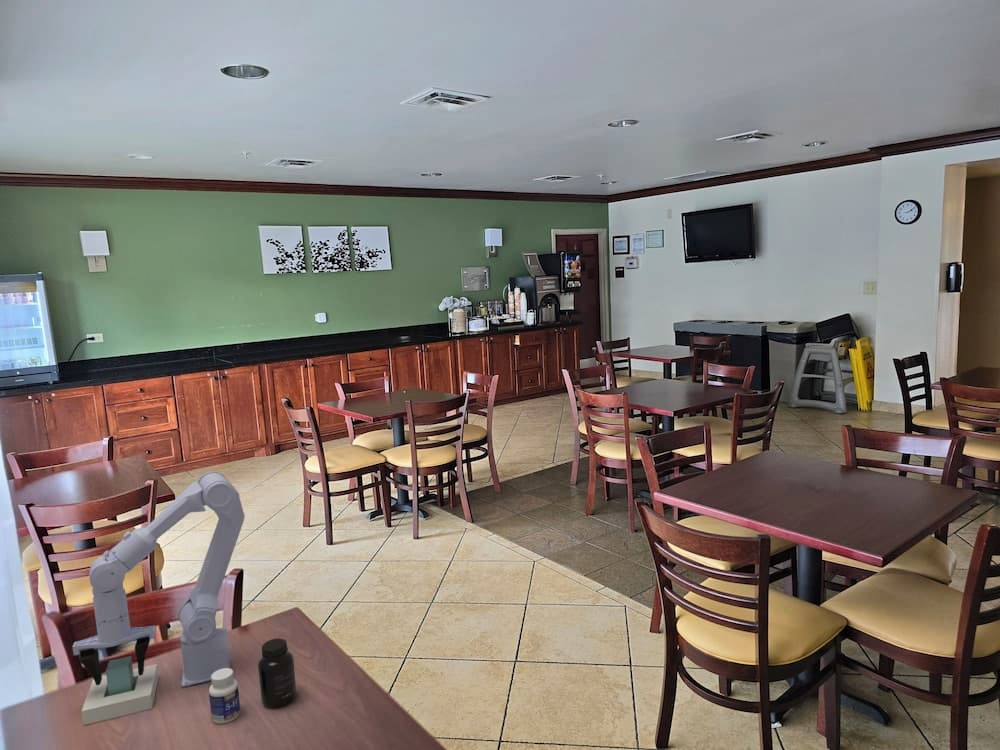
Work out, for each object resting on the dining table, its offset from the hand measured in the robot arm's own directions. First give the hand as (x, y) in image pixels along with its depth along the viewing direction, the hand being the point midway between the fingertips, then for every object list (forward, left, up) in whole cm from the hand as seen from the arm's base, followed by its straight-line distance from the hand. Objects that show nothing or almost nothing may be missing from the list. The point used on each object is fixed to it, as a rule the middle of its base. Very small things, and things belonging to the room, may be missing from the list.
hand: (120, 677), depth 135 cm
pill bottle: (-20, +15, -5) cm, 25 cm away
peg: (0, 0, -5) cm, 5 cm away
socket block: (0, 0, -5) cm, 5 cm away
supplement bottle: (-30, +14, -5) cm, 33 cm away
